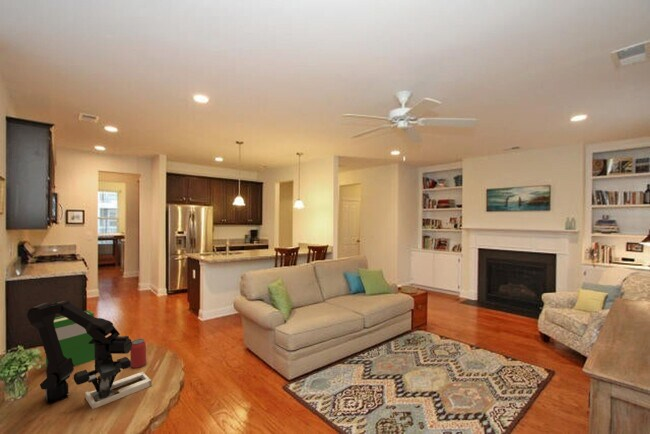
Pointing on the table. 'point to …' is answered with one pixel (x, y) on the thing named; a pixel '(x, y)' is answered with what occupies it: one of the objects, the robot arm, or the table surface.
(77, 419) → the table surface
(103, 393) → the dark grey rounded piece
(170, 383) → the table surface
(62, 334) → the hardback book
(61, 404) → the table surface
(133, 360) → the beer can
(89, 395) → the keyhole dock
